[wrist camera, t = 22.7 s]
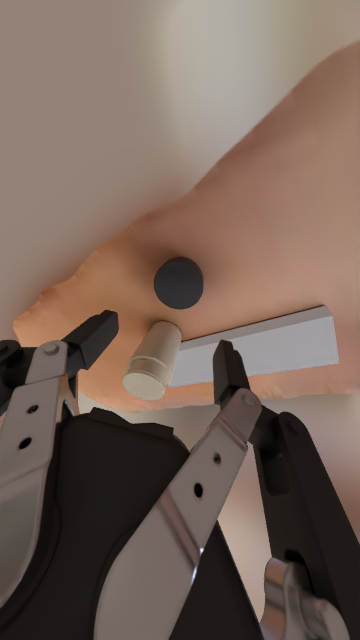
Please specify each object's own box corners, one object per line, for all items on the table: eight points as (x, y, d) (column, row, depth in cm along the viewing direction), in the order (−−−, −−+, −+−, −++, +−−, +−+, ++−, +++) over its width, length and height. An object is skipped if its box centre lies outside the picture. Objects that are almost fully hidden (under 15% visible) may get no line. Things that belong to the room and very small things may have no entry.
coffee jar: (162, 314, 25) (134, 361, 15) (189, 336, 26) (178, 392, 17) (143, 334, 28) (110, 384, 18) (168, 353, 29) (148, 408, 20)
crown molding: (325, 305, 20) (345, 319, 17) (322, 361, 26) (337, 378, 23) (155, 349, 30) (150, 363, 27) (180, 383, 36) (177, 397, 33)
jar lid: (207, 297, 22) (208, 304, 20) (167, 306, 24) (164, 313, 22) (197, 250, 19) (196, 253, 17) (151, 265, 20) (145, 269, 18)
